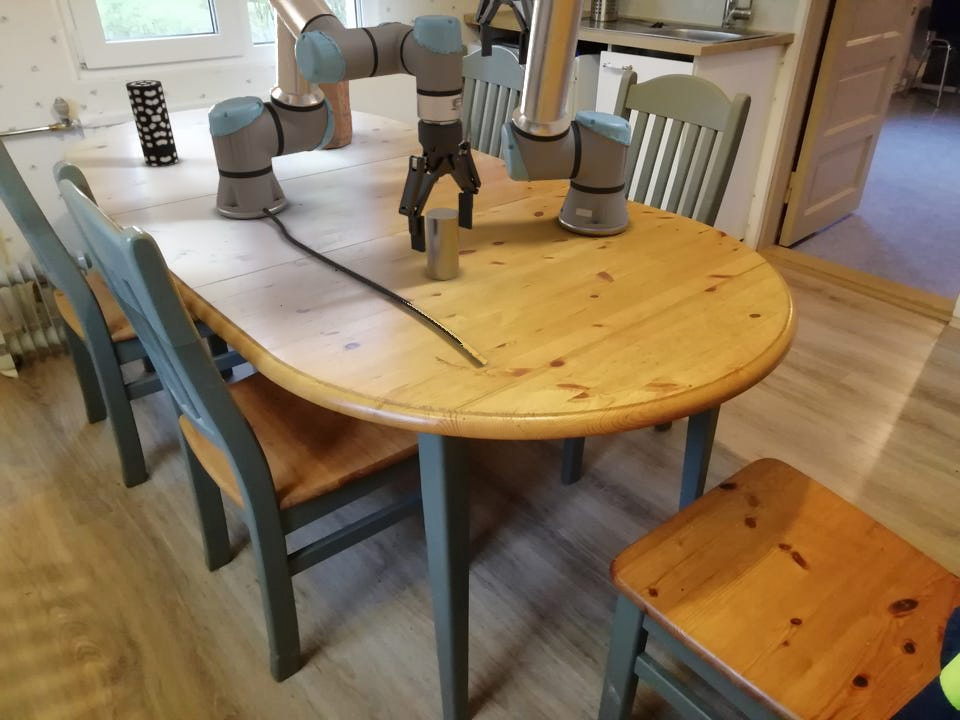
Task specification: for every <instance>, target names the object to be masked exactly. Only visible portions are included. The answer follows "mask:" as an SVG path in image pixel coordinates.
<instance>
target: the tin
mask: <svg viewBox="0 0 960 720" xmlns="http://www.w3.org/2000/svg"><path fill="white" fill-rule="evenodd" d="M425 238H426V263H427V265H426V266H427V276H428V277H429V278H431V279H433V280H437V281H449V280H453V279H456V278H457V277H459V275H460V227H459V210H457V209H456V208H455V209H454V208H451V207H434V208H430V209H428V210H427V211H426V212H425Z"/></svg>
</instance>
